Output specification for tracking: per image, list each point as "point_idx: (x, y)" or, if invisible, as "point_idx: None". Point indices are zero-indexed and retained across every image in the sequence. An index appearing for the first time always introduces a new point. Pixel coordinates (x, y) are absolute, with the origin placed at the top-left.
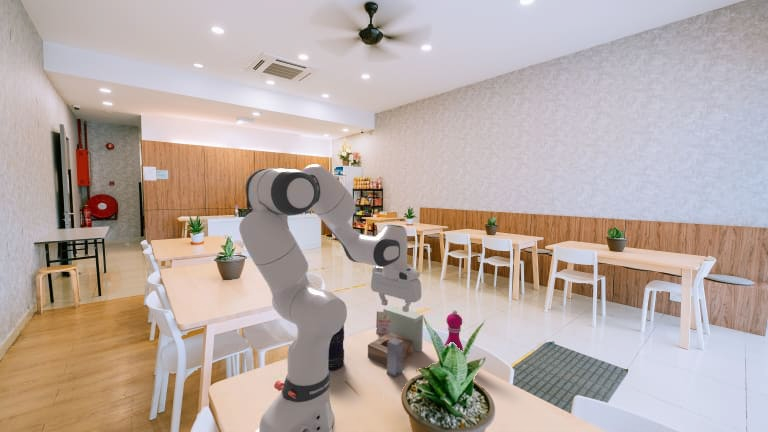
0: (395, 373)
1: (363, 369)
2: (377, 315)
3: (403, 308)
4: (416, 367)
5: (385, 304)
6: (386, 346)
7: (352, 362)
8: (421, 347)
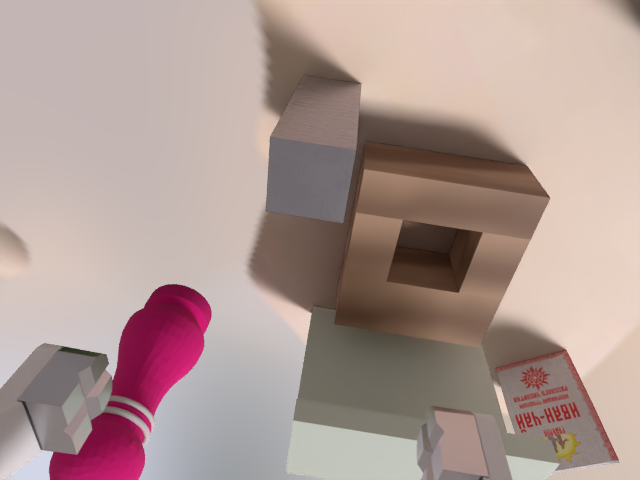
0: (303, 81)
1: (499, 45)
2: (603, 438)
3: (56, 382)
4: None
5: (429, 426)
6: (457, 261)
7: (594, 72)
8: (310, 321)
